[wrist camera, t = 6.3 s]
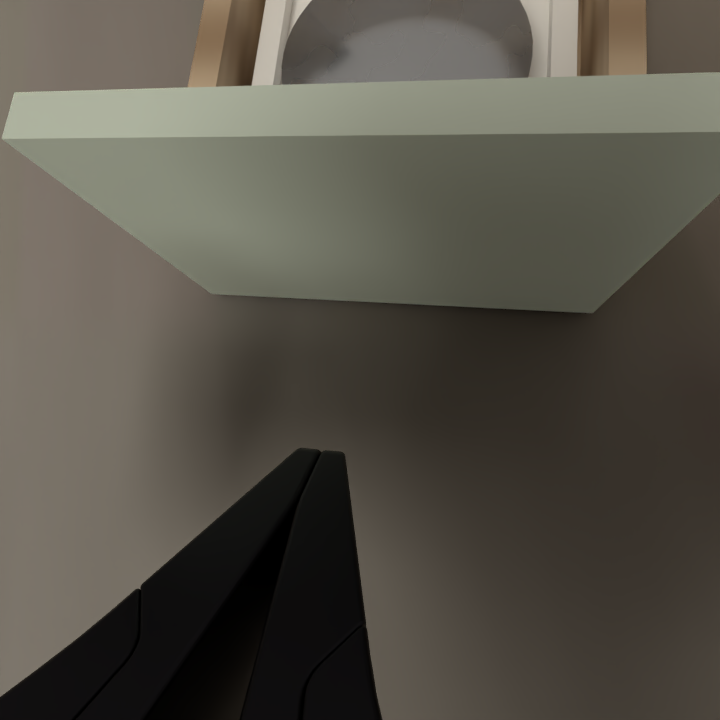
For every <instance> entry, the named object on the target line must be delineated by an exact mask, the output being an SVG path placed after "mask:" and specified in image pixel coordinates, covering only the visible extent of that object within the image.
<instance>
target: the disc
mask: <svg viewBox="0 0 720 720" xmlns="http://www.w3.org/2000/svg"><path fill="white" fill-rule="evenodd" d="M532 55H533V39H532V32H531V26H530V23H529V19H528V16H527V13H526V11H525V9H524V7H523V5H522V3H521V1H520V0H312V1H311V2H310V3H309V4H308V5H307V7H306V8H305V9H304V11H303V12H302V13H301V14H300V16H299V18H298V19H297V21H296V23H295V24H294V26H293V28H292V30H291V33H290V35H289V37H288V39H287V43H286V46H285V50H284V53H283V60H282V85H292V84H326V83H361V82H396V81H431V80H466V79H500V78H528V76H529V71H530V66H531V61H532Z"/></svg>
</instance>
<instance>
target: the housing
mask: <svg viewBox="0 0 720 720" xmlns="http://www.w3.org/2000/svg"><path fill="white" fill-rule="evenodd" d="M265 2H266V0H205V1H204V6H203V11H202V16H201V21H200V26H199V32H198V37H197V42H196V47H195V52H194V57H193V62H192V67H191V72H190V78H189V83H188V87H222V86H252V80H253V74H254V68H255V62H256V56H257V50H258V44H259V38H260V32H261V26H262V20H263V14H264V8H265ZM640 74H647V53H646V0H578V41H577V76H605V75H640Z"/></svg>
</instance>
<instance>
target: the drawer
mask: <svg viewBox="0 0 720 720" xmlns="http://www.w3.org/2000/svg"><path fill="white" fill-rule="evenodd" d="M311 1H312V0H266V2H265V8H264V14H263V20H262V26H261V32H260V38H259V44H258V50H257V56H256V62H255V68H254V74H253V80H252V86H222V87H187V88H152V89H117V90H83V91H48V92H14V96H13V99H12V103H11V107H10V110H9V114H8V118H7V121H6V125H5V129H4V132H3V136H2V139H3V140H4V141H5V142H7V143H8V144H9V145H11V146H12V147H13V148H15V149H16V150H17V151H19V152H20V153H21V154H23V155H24V156H26V157H27V158H28V159H30V160H31V161H32V162H34V163H35V164H36V165H38V166H39V167H40V168H42V169H43V170H44V171H46V172H47V173H49V174H50V175H51V176H53V177H54V178H55V179H57V180H58V181H59V182H61V183H62V184H63V185H65V186H66V187H67V188H69V189H70V190H72V191H73V192H74V193H76V194H77V195H78V196H80V197H81V198H82V199H84V200H85V201H86V202H88V203H89V204H90V205H92V206H93V207H95V208H96V209H97V210H99V211H100V212H101V213H103V214H104V215H105V216H107V217H108V218H109V219H111V220H112V221H113V222H115V223H116V224H117V225H119V226H120V227H122V228H123V229H124V230H126V231H127V232H128V233H130V234H131V235H132V236H134V237H135V238H136V239H138V240H139V241H140V242H142V243H143V244H145V245H146V246H147V247H149V248H150V249H151V250H153V251H154V252H155V253H157V254H158V255H159V256H161V257H162V258H163V259H165V260H166V261H168V262H169V263H170V264H172V265H173V266H174V267H176V268H177V269H178V270H180V271H181V272H182V273H184V274H185V275H186V276H188V277H189V278H190V279H192V280H193V281H195V282H196V283H197V284H199V285H200V286H201V287H203V288H204V289H205V290H207V291H208V292H209V293H211V294H221V295H240V296H260V297H280V298H300V299H319V300H339V301H359V302H379V303H399V304H418V305H438V306H458V307H478V308H497V309H517V310H537V311H557V312H577V313H593V312H595V311H596V310H597V309H598V308H599V307H600V306H601V305H602V304H603V303H604V302H605V301H606V300H607V299H608V298H609V297H611V296H612V295H613V294H614V293H615V292H616V291H617V290H618V289H619V288H620V287H621V286H622V285H623V284H624V283H626V282H627V281H628V280H629V279H630V278H631V277H632V276H633V275H634V274H635V273H636V272H637V271H638V270H639V269H640V268H642V267H643V266H644V265H645V264H646V263H647V262H648V261H649V260H650V259H651V258H652V257H653V256H654V255H655V254H656V253H658V252H659V251H660V250H661V249H662V248H663V247H664V246H665V245H666V244H667V243H668V242H669V241H670V240H671V239H672V238H674V237H675V236H676V235H677V234H678V233H679V232H680V231H681V230H682V229H683V228H684V227H685V226H686V225H687V224H688V223H690V222H691V221H692V220H693V219H694V218H695V217H696V216H697V215H698V214H699V213H700V212H701V211H702V210H703V209H704V208H706V207H707V206H708V205H709V204H710V203H711V202H712V201H713V200H714V199H715V198H716V197H717V196H718V195H719V194H720V72H709V73H675V74H640V75H605V76H577V41H578V0H520V1H521V3H522V5H523V7H524V9H525V11H526V13H527V16H528V19H529V23H530V26H531V32H532V39H533V55H532V61H531V66H530V71H529V76H528V78H500V79H466V80H431V81H396V82H361V83H326V84H292V85H282V60H283V53H284V50H285V46H286V43H287V39H288V37H289V35H290V33H291V30H292V28H293V26H294V24H295V23H296V21H297V19H298V18H299V16H300V14H301V13H302V12H303V11H304V9H305V8H306V7H307V5H308V4H309V3H310V2H311Z"/></svg>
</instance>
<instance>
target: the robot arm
mask: <svg viewBox="0 0 720 720" xmlns="http://www.w3.org/2000/svg"><path fill="white" fill-rule="evenodd" d="M0 720H382V716H381V712H380V707H379V703H378V698H377V694H376V687H375V681H374V675H373V669H372V662H371V656H370V648H369V641H368V633H367V628H366V619H365V611H364V603H363V595H362V587H361V579H360V571H359V563H358V555H357V547H356V539H355V531H354V523H353V515H352V507H351V499H350V491H349V483H348V475H347V467H346V459H345V454H344V453H343V452H337V451H327V450H325V451H323V452H321V451H320V450H317V449H308V448H299V449H297V450H296V451H294V452H293V453H292V454H291V455H290V456H289V457H288V458H286V459H285V460H284V461H283V462H282V463H281V464H280V465H278V466H277V467H276V468H275V469H274V470H273V471H271V472H270V473H269V474H268V475H267V476H266V477H265V478H263V479H262V480H261V481H260V482H259V483H258V484H257V485H255V486H254V487H253V488H252V489H251V490H250V491H248V492H247V493H246V494H245V495H244V496H243V497H242V498H240V499H239V500H238V501H237V502H236V503H235V504H234V505H232V506H231V507H230V508H229V509H228V510H227V511H225V512H224V513H223V514H222V515H221V516H220V517H219V518H217V519H216V520H215V521H214V522H213V523H212V524H210V525H209V526H208V527H207V528H206V529H205V530H204V531H202V532H201V533H200V534H199V535H198V536H197V537H196V538H194V539H193V540H192V541H191V542H190V543H189V544H187V545H186V546H185V547H184V548H183V549H182V550H181V551H179V552H178V553H177V554H176V555H175V556H174V557H173V558H171V559H170V560H169V561H168V562H167V563H166V564H164V565H163V566H162V567H161V568H160V569H159V570H158V571H156V572H155V573H154V574H153V575H152V576H151V577H150V578H148V579H147V580H146V581H145V582H144V583H143V584H142V585H141V590H140V589H136V590H134V591H133V592H132V593H131V594H130V595H129V596H127V597H126V598H125V599H124V600H123V601H122V602H121V603H119V604H118V605H117V606H116V607H115V608H114V609H112V610H111V611H110V612H109V613H108V614H106V615H105V616H104V617H103V618H102V619H100V620H99V621H98V622H97V623H96V624H94V625H93V626H92V627H91V628H90V629H88V630H87V631H86V632H85V633H84V634H82V635H81V636H80V637H79V638H77V639H76V640H75V641H73V642H72V643H71V644H70V645H68V646H67V647H66V648H64V649H63V650H62V651H61V652H59V653H58V654H57V655H55V656H54V657H53V658H51V659H50V660H49V661H48V662H46V663H45V664H44V665H42V666H41V667H40V668H38V669H37V670H36V671H34V672H33V673H32V674H30V675H29V676H28V677H26V678H25V679H24V680H22V681H21V682H20V683H18V684H17V685H16V686H14V687H13V688H12V689H10V690H9V691H8V692H6V693H5V694H4V695H2V696H1V697H0Z"/></svg>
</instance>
